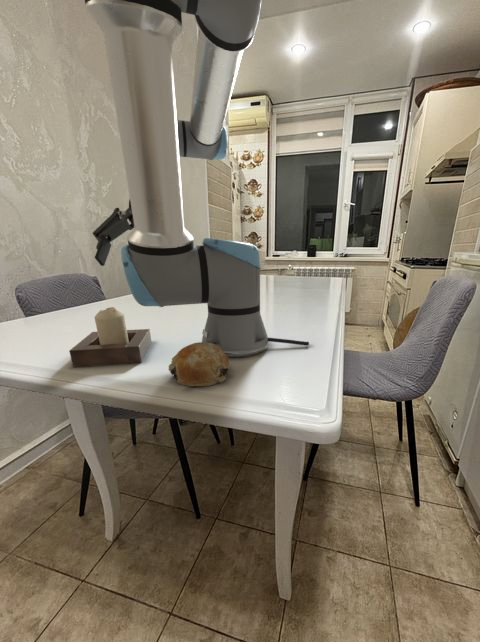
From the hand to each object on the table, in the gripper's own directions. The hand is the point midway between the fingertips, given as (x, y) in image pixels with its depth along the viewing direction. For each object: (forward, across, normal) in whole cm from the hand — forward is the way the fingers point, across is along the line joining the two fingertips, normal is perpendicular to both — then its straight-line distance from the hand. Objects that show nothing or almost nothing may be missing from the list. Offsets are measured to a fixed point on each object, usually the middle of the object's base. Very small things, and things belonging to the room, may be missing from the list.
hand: (127, 261), depth 67 cm
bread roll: (+28, -21, +1) cm, 35 cm away
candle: (+21, 0, -6) cm, 22 cm away
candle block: (+21, 0, -6) cm, 21 cm away
